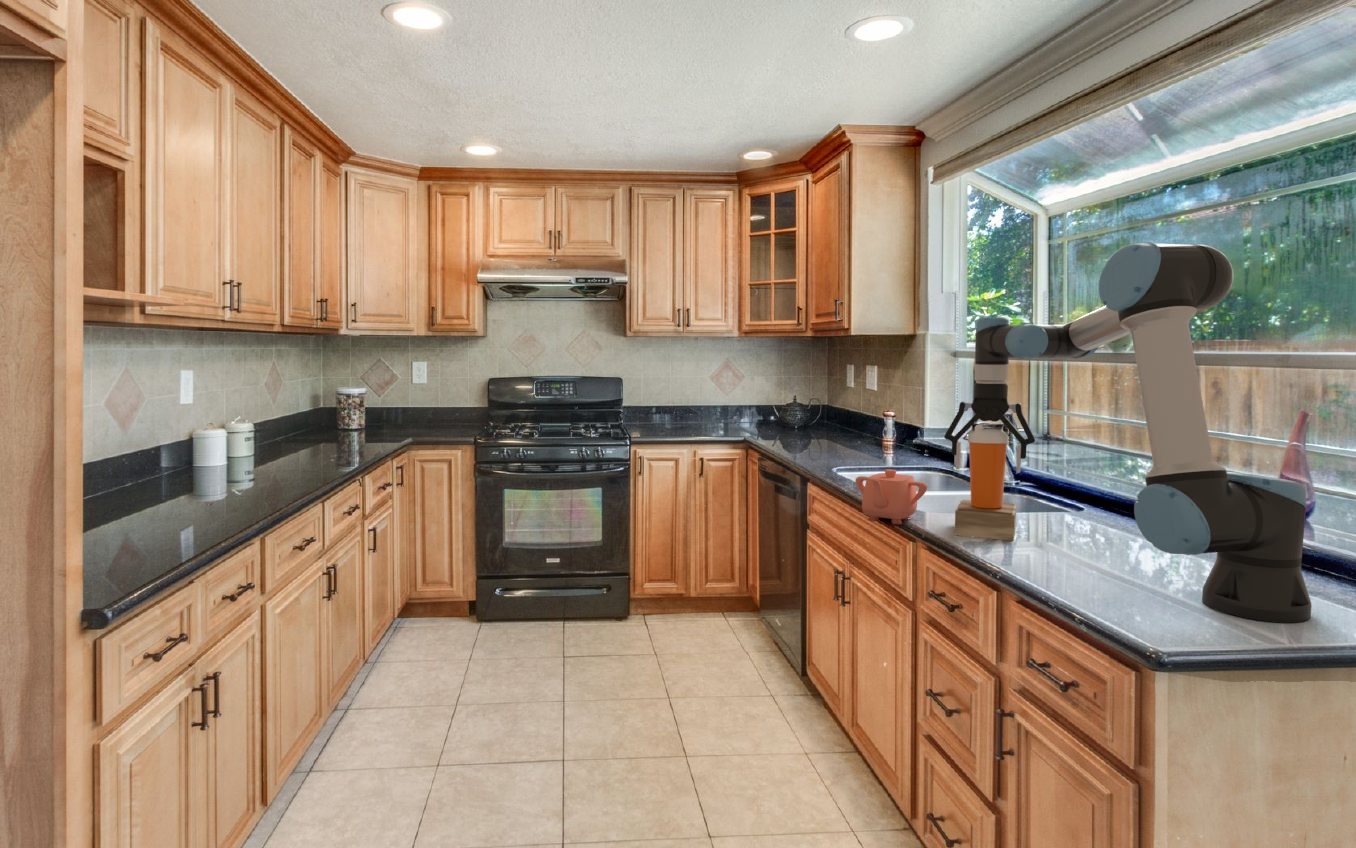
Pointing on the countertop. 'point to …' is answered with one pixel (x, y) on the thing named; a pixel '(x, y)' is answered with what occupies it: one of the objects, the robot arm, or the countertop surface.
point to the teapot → (890, 495)
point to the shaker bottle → (987, 465)
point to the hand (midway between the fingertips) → (987, 470)
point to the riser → (985, 521)
